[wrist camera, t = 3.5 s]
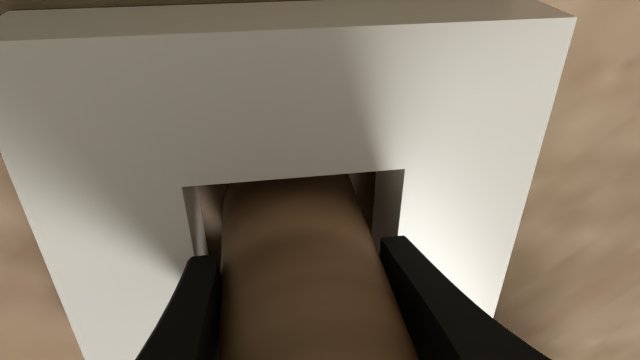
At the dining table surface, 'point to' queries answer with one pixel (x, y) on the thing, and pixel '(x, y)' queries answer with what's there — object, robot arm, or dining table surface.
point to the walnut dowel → (304, 276)
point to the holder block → (268, 132)
